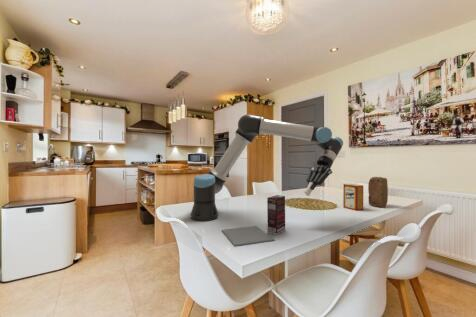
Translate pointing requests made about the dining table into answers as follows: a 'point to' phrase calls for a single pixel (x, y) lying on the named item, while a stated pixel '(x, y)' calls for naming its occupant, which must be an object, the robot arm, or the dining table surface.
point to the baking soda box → (353, 197)
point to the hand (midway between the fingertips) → (306, 193)
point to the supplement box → (276, 214)
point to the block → (378, 191)
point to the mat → (247, 235)
